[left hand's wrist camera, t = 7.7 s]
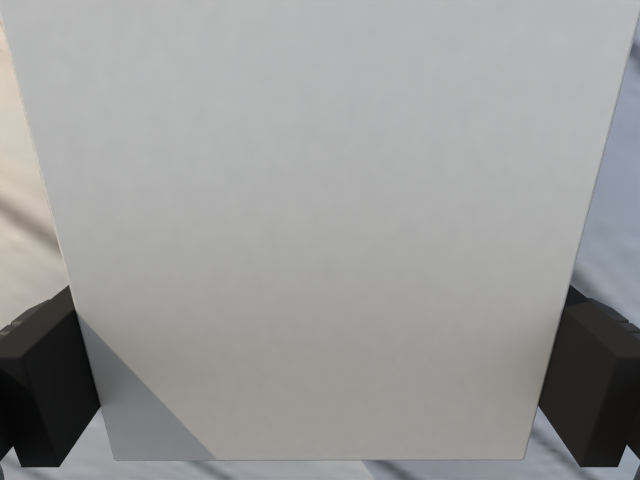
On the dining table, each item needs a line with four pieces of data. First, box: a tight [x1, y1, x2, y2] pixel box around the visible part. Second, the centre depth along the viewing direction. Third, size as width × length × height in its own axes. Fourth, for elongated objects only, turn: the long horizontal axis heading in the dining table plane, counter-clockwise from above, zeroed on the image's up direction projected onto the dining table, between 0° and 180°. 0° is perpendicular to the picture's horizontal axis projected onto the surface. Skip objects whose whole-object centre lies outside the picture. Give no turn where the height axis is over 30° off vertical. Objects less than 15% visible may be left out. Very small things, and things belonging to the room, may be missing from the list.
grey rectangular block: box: [0, 0, 640, 461], centre depth 11 cm, size 20×10×11 cm, turn 0°
